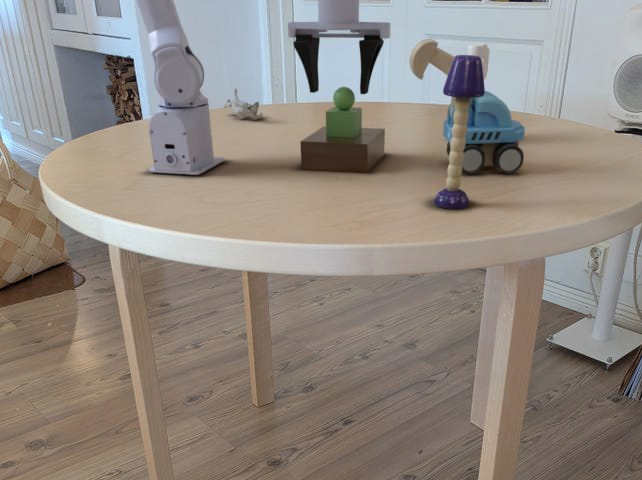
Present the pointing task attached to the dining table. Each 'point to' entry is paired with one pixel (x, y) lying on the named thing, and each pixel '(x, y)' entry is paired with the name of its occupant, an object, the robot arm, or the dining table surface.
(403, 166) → the dining table surface
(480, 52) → the figurine
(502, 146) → the toy excavator
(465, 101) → the toy lamp
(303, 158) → the walnut block
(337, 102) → the green toy
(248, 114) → the toy cat
